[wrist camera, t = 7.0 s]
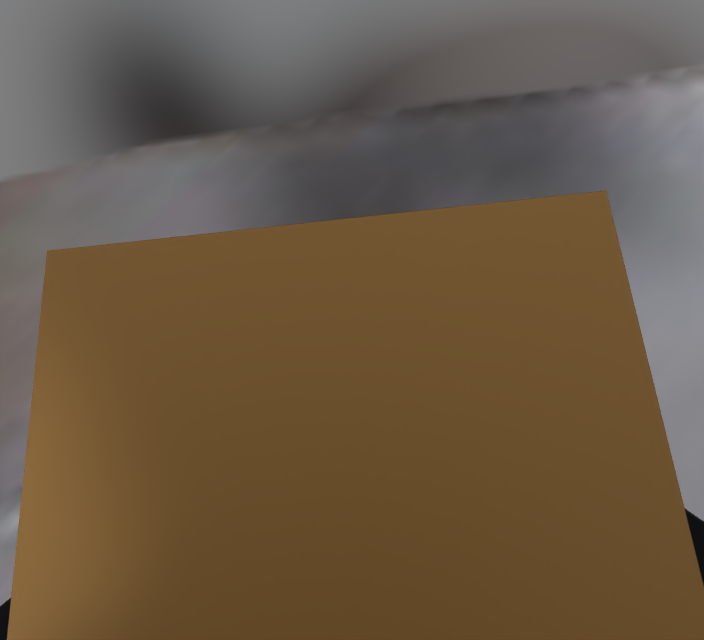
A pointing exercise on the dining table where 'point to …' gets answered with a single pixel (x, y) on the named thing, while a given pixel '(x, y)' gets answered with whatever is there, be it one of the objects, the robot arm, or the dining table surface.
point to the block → (352, 437)
